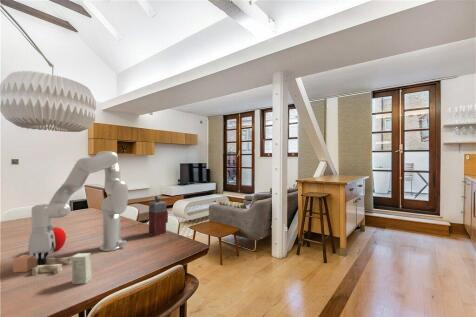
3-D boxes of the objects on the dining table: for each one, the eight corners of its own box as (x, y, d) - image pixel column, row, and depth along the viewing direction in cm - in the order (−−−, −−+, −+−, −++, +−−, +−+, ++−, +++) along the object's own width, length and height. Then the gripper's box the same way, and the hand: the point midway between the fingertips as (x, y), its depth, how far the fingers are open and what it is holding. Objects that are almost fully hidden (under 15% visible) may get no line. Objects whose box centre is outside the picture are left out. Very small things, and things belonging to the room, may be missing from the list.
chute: (73, 260, 127) (73, 255, 127) (57, 273, 113) (57, 267, 113) (51, 261, 125) (51, 256, 125) (32, 275, 111) (32, 268, 111)
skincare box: (91, 278, 108) (91, 252, 108) (86, 284, 104) (86, 256, 104) (77, 279, 108) (77, 252, 108) (71, 284, 104) (71, 256, 104)
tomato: (35, 255, 133) (35, 230, 133) (45, 247, 144) (45, 224, 144) (60, 252, 137) (60, 228, 137) (69, 245, 148) (69, 223, 148)
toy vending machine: (168, 232, 174) (169, 195, 174) (155, 236, 165) (155, 197, 165) (162, 230, 180) (162, 193, 180) (148, 233, 171) (148, 195, 171)
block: (35, 266, 120) (35, 254, 120) (26, 271, 115) (27, 259, 115) (22, 266, 119) (22, 255, 119) (13, 272, 114) (13, 260, 114)
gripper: (62, 226, 123) (62, 261, 123) (30, 227, 121) (30, 263, 121) (52, 231, 115) (53, 268, 115) (19, 232, 113) (19, 270, 114)
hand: (41, 265), depth 118 cm, fingers closed
